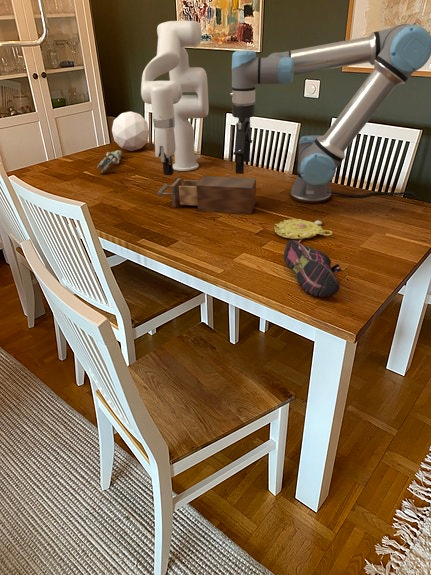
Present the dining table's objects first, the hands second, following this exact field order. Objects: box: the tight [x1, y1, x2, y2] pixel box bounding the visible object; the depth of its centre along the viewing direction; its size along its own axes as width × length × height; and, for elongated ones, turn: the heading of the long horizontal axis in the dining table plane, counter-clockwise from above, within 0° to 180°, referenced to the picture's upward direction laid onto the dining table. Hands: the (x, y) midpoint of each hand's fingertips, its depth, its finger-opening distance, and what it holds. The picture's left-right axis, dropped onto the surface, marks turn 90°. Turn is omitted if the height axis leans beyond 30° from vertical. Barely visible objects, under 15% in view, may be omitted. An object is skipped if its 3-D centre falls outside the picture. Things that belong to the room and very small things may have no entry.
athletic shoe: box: [283, 239, 344, 298], centre depth 119 cm, size 11×22×12 cm
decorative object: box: [273, 218, 333, 243], centre depth 145 cm, size 21×2×20 cm
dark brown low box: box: [196, 175, 257, 215], centre depth 164 cm, size 20×10×10 cm, turn 77°
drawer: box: [156, 177, 200, 207], centre depth 167 cm, size 25×9×8 cm, turn 77°
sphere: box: [111, 111, 150, 152], centre depth 232 cm, size 19×20×20 cm
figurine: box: [96, 150, 123, 174], centre depth 213 cm, size 7×8×30 cm
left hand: (168, 174), depth 165 cm, fingers closed
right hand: (243, 167), depth 157 cm, fingers open, 13 cm apart
